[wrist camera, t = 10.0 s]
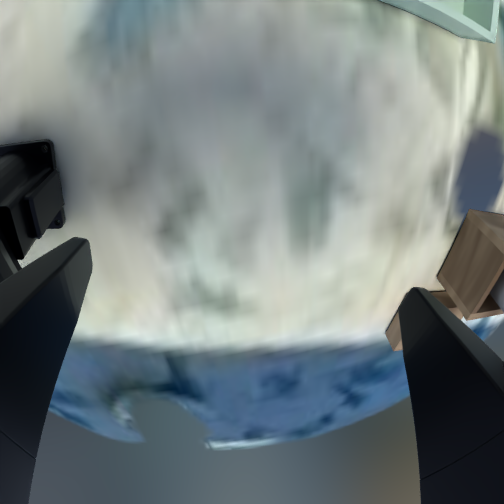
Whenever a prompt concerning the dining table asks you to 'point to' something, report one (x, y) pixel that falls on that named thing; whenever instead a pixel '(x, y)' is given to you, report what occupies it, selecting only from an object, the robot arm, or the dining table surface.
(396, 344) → the wooden switch box
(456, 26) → the trough
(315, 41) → the dining table surface
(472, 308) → the bin
